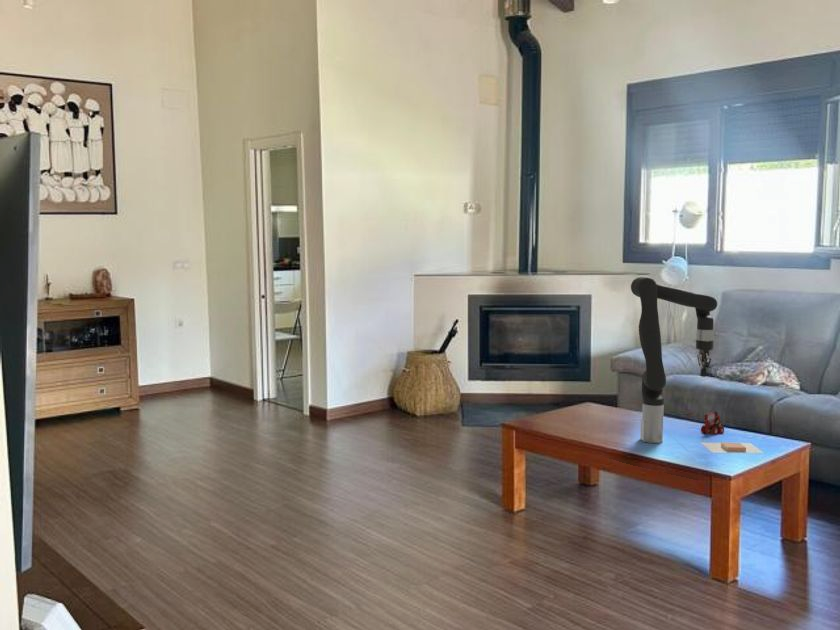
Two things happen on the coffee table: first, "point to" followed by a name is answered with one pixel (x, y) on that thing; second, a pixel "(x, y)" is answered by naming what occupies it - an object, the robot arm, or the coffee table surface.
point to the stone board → (718, 449)
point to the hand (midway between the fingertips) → (703, 376)
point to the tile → (733, 446)
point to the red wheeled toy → (712, 424)
